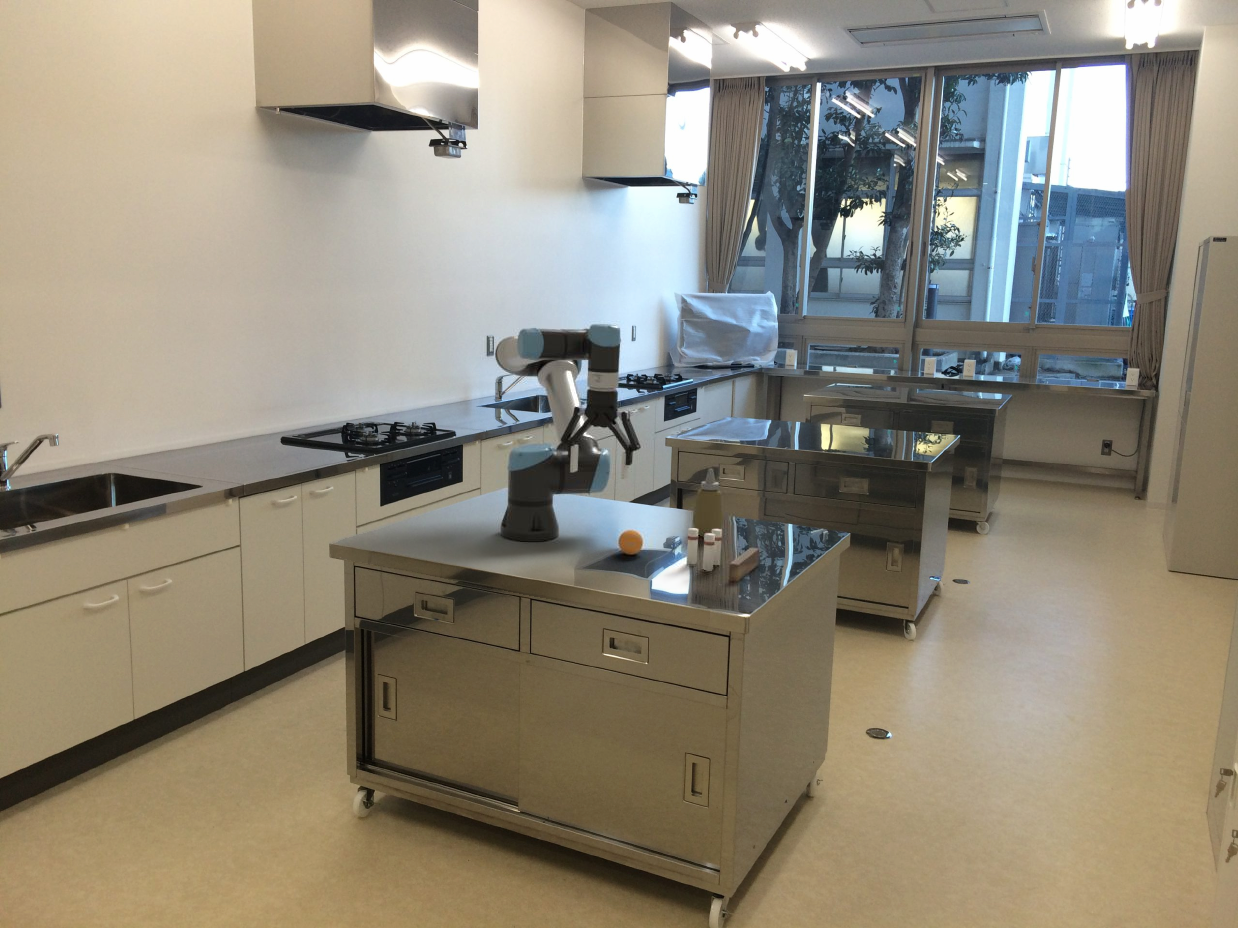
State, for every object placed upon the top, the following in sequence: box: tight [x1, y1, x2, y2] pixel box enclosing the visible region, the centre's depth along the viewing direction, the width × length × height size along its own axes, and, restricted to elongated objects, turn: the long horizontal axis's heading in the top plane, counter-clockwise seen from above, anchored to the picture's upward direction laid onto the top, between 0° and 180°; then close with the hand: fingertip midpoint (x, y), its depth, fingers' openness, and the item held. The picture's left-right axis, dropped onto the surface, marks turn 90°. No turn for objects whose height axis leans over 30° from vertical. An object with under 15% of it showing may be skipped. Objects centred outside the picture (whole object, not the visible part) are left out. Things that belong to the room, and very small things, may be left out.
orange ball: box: [617, 529, 644, 555], centre depth 239 cm, size 6×6×6 cm
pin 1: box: [702, 533, 715, 572], centre depth 228 cm, size 2×2×8 cm
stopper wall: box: [728, 547, 760, 582], centre depth 227 cm, size 2×16×4 cm, turn 156°
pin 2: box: [712, 528, 723, 566], centre depth 232 cm, size 2×2×8 cm
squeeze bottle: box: [692, 468, 724, 537], centre depth 259 cm, size 8×8×18 cm
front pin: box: [686, 527, 699, 565], centre depth 232 cm, size 2×2×8 cm
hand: (598, 474), depth 240 cm, fingers open, 13 cm apart
